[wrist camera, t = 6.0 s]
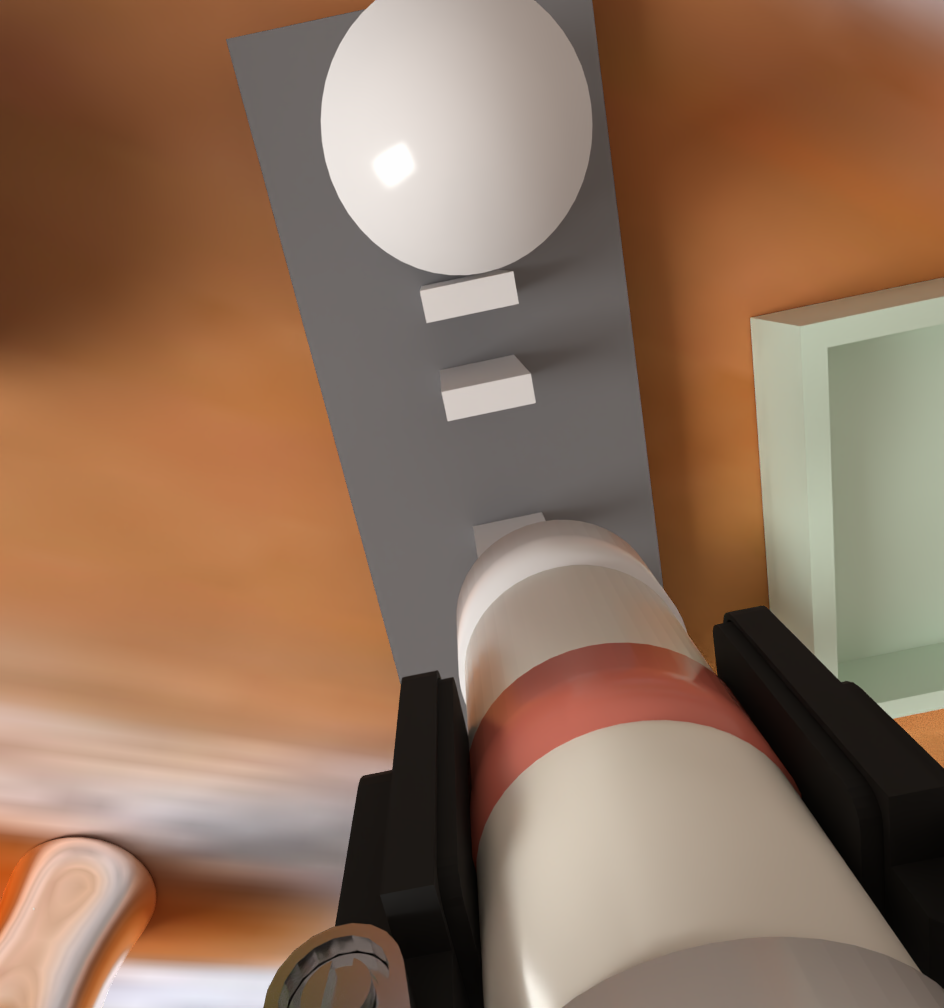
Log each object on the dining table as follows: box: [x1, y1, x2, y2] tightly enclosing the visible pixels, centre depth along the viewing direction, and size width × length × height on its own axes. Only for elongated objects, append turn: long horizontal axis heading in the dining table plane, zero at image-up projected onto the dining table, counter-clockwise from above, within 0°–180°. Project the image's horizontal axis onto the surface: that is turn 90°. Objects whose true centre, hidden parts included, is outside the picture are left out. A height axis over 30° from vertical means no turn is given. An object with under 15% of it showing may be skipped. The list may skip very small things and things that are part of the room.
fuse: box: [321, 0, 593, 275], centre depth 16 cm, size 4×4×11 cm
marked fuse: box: [456, 520, 944, 1008], centre depth 9 cm, size 4×4×11 cm
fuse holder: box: [226, 0, 663, 733], centre depth 23 cm, size 10×26×6 cm, turn 11°
